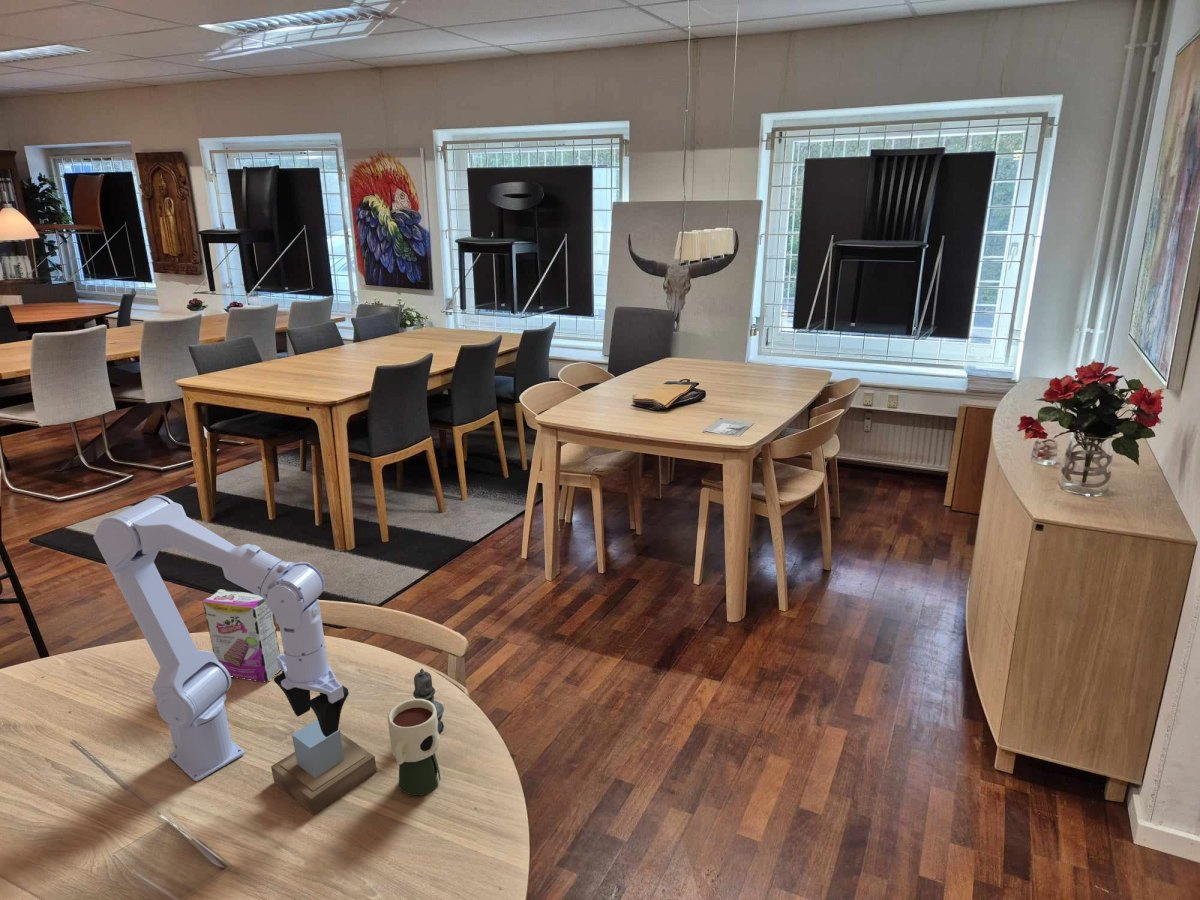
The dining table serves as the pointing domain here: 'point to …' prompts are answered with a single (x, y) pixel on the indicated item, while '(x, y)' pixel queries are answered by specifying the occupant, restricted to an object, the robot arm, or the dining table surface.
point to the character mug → (415, 744)
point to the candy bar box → (243, 634)
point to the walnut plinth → (324, 777)
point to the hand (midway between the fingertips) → (316, 722)
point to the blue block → (317, 749)
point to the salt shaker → (427, 694)
